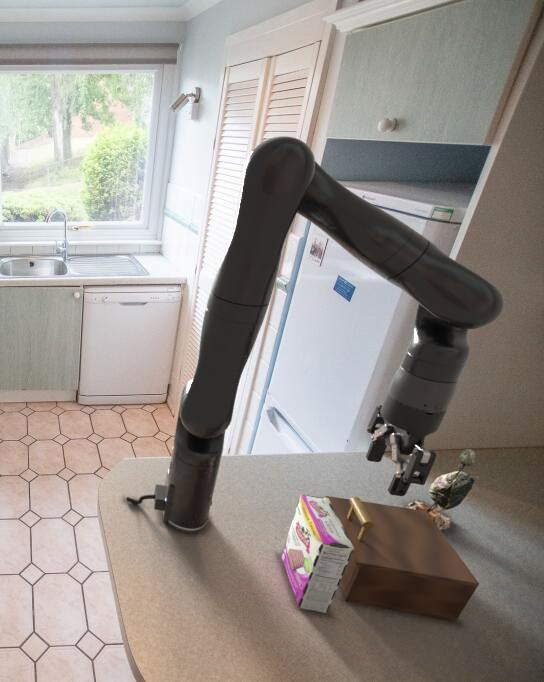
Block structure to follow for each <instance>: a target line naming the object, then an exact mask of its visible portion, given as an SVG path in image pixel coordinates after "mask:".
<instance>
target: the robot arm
mask: <svg viewBox="0 0 544 682" xmlns="http://www.w3.org/2000/svg"><path fill="white" fill-rule="evenodd" d="M241 178H242V181H241V190H240V197H239V201H238V208H237V212H236V213H237V214H236V219H235V223H234V228H233V231H232V235H231V237H230V240H229V243H228V245H227V247H226V249H225V251H224V254H223V256H222V258H221V260H220V264H219V265H218V267H217V270H216V272H215V276H214V278H213V281H212V284H211V287H210V290H209V295H208V299H207V301H206V306H205V310H204V314H203V320H202V326H201V333H200V342H199V351H198V360H197V365H196V369H195V372H194V375H193V377H192V378H191V379H189V380H188V381H187V382H186V383H185V385H184V386H183V388H182V391H181V395H180V401H179V406H178V414H177V419H176V425H175V432H174V438H173V445H172V451H171V457H170V463H169V468H168V469H167V470H166V476H165V483H164V484H155V487H154V493H153V494H144V495H141V496H140V497H139V498H138V499H134V498H132V497H128V496H127V497H126V502H128V503H131V504H134V505H140V504H142V503H143V501H144V500H153V502H154V503H153V507H154V510H156V511H161V514H162V523H164V524H168V525H169V526H171V527H172V528H174V529H176V530H177V531H181V532H184V533H198V532H201V531H203V530H205V528H206V527H207V525H208V522H209V516H210V515H209V514H210V510H211V506H212V504H213V497H214V492H215V488H216V483H217V478H218V474H219V469H220V466H221V461H222V456H223V453H224V444H225V438H226V437H225V436H226V430H227V429H228V428H229V426H230V425H231V423H232V420H233V416H234V409H235V404H236V400H237V399H236V398H237V393H238V389H239V385H240V381H241V378H242V374H243V372H244V369H245V367H246V366H247V363H248V360H249V358H250V355H251V353H252V351H253V349H254V346H255V343H256V341H257V339H258V336H259V333H260V331H261V328H262V325H263V323H264V320H265V317H266V314H267V311H268V309H269V305H270V303H271V300H272V299H271V298H272V295H273V292H274V288H275V284H276V281H277V277H278V273H279V269H280V265H281V259H282V254H283V249H284V246H285V243H286V240H287V237H288V235H289V231H290V229H291V227H292V225H293V223H294V219H295V218H296V215H297V214H298V215H300V216H301V217H303V218H304V219H306V220H307V221H309V222H311V224H313V225H315V226H316V227H317V228H319V229H320V230H322V232H324V233H325V234H326V235H328V237H330V238H331V240H333V241H334V242H336V243H337V245H339V246H340V247H341V248H342V249H344V251H346V252H347V253H348V254H350V255H351V257H354V258H355V260H357V261H359V263H361V264H362V265H364V266H365V267H366V268H368V269H370V270H371V271H372V272H374V273H375V274H377V275H378V276H380V277H381V278H382V279H383V280H385V281H387V282H389V283H390V284H392V285H394V286H395V287H396V288H399V289H400V290H402V291H403V292H404V293H406V294H407V295H408V296H409V297H410V298H411V299H413V300H414V301H415V302H417V307H416V311H415V316H414V322H413V328H412V336H411V339H410V342H409V344H408V346H407V347H406V350H405V353H404V355H403V358H402V361H401V363H400V365H399V367H398V369H397V371H395V373H394V375H393V378H392V380H391V383H390V385H389V387H388V390H387V393H386V395H385V397H384V400H383V402H382V404H377V405H376V407H375V409H374V411H373V413H372V416H371V418H370V420H369V423H368V425H367V427H366V431H367V433H369V434H370V436H369V441H370V444H369V447H368V449H367V452H366V455H365V459H366V460H367V461H368V462H374V463H380V462H381V461H382V460H383V457H384V455H385V453H386V450H387V448H388V447H389V448H390V451H391V461H392V462H393V463H395V473H394V475H393V477H392V479H391V481H390V484H389V486H388V488H387V491H388V493H389V495H390V496H396V497H405V496H406V495H407V493H408V490H409V488H410V487H411V485H412V484H415V485H420V486H424V485H426V482H427V480H428V477H429V475H430V473H431V470H432V468H433V465H434V463H435V460H436V459H437V453H436V452H435V451H433V450H427V449H426V447H425V440H426V439H425V438H426V437H427V436H429V435H431V434H434V433H436V432H437V431H438V430H439V428H440V427H441V424H442V423H443V420H444V417H445V415H446V413H447V411H448V409H449V407H450V406H451V402H452V400H453V398H454V396H455V394H456V391H457V387H458V383H459V381H460V379H461V376H462V375H463V372H464V370H465V368H466V366H467V363H468V361H469V358H470V356H471V350H472V349H471V344H470V343H469V339H468V333H469V330H475V329H480V328H484V327H487V326H489V325H491V324H493V323H494V322H496V321H497V320H498V319H499V318H500V316H501V315H502V314H503V312H504V309H505V297H504V295H503V293H502V291H501V290H500V289H499V287H498V286H497V285H495V284H494V283H492V282H491V281H489V280H488V279H486V278H485V277H483V276H481V275H480V274H478V273H476V272H474V271H472V269H470V268H468V267H466V266H464V265H463V264H462V263H460V262H458V261H456V260H454V259H453V258H451V257H450V256H449V255H447V254H446V253H445V252H444V251H442V250H441V248H439V247H438V246H437V245H435V243H433V242H432V241H431V240H429V238H428V239H427V238H426V237H425V236H423V235H422V234H420V232H418V231H416V230H414V229H413V228H412V227H411V226H408V224H406V223H404V222H403V221H401V220H400V219H398V218H396V217H395V216H393V215H391V214H390V213H388V212H386V211H385V210H383V209H381V208H379V207H378V206H376V205H374V204H373V203H371V202H370V201H367V200H366V199H364V198H362V197H361V196H359V195H357V194H356V193H354V192H353V191H352V190H350V189H348V188H347V187H345V186H344V185H343V184H341V182H339V181H338V180H336V179H335V178H334V177H332V176H331V175H330V174H329V173H328V172H327V171H326V170H325V169H324V168H323V167H322V166H321V164H319V163H318V162H317V161H316V159H315V155H314V153H313V150H312V149H311V148H310V147H309V145H308V144H307V143H306V142H304V141H303V140H301V139H299V138H296V137H294V136H285V135H284V136H282V135H281V136H274V137H272V138H268V139H266V140H264V141H262V142H261V143H259V144H258V145H257V146H255V147H254V148H253V149H252V151H250V153H249V154H248V156H247V157H246V160H245V161H244V165H243V168H242V177H241ZM377 425H380V427H379V426H377ZM401 455H402V456H409V457H410V458H404V457H402V456H401ZM404 464H406V468H405V470H404Z"/></svg>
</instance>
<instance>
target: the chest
mask: <svg viewBox="0 0 544 682" xmlns="http://www.w3.org/2000/svg"><path fill="white" fill-rule="evenodd" d="M338 588H339V589H340V591H341V594H342V596H343V598H344V602H348V603H354V604H359V605H364V606H369V607H375V608H379V609H385V610H390V611H394V612H401V613H405V614H410V615H415V616H420V617H426V618H430V619H437V620H441V621H446V622H452V623H456V622H457V620H458V619H459V617H460V615H461V614H462V613H463V611H464V609H465V607H466V606H467V604H468V603H469V601H470V599H471V598H472V596H473V595H474V594H475V592H476V590H477V588H478V587H475V586H469V585H464V584H458V583H453V582H447V581H441V580H436V579H430V578H424V577H419V576H413V575H408V574H402V573H396V572H391V571H385V570H380V569H374V568H368V567H363V566H357V565H355V562H354V560H353V558H352V556H351V557H350V559H349V561H348V564H347V566H346V569H345V571H344V574H343V576H342V578H341V581H340V583H339V586H338Z"/></svg>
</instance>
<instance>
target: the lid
mask: <svg viewBox="0 0 544 682" xmlns="http://www.w3.org/2000/svg"><path fill="white" fill-rule="evenodd" d="M323 498H329V500H330V502H331V504H332V506H333V508H334V510H335V512H336V514H337V516H338V518H339V520H340V522H341V524H342V525H343V527H344V529H345V531H346V533H347V535H348V537H349V539H350V541H351V543H352V545H353V547H354V550H353V552H352V554H351V556H352V558H353V560H354V562H355V565H357V566H363V567H368V568H374V569H380V570H385V571H391V572H396V573H402V574H408V575H413V576H419V577H424V578H430V579H436V580H441V581H447V582H453V583H458V584H464V585H469V586H475V587H477V588H478V587H479V585H480V583H479V581H478V579H477V578H476V577H475V576H474V574H473V573H472V572H471V570H470V569H469V568H468V566H467V565H466V563H465V562H464V561H463V559H462V558H461V556H460V555H459V554H458V552H457V551H456V550H455V548H454V547H453V546H452V544H451V543H450V542H449V540H448V539H447V537H446V536H445V535H444V534H443V532H442V530H440V529H439V528H438V527H437V525H436V524H435V522H434V521H433V520H432V518H431V517H430V516H429V514H428V513H427V512H426V511H423V510H416V509H410V508H406V507H404V506H403V507H402V506H395V505H391V504H390V505H389V504H383V503H377V502H371V501H370V502H369V501H363V500H361V498H359V497H357V496H352V497H350V498H344V497H337V496H331V495H330V496H329V495H324V497H323Z"/></svg>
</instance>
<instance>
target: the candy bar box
mask: <svg viewBox="0 0 544 682" xmlns="http://www.w3.org/2000/svg"><path fill="white" fill-rule="evenodd" d="M353 550H354V547H353V545H352V543H351V541H350V539H349V537H348V535H347V533H346V531H345V529H344V527H343V525H342V524H341V522H340V520H339V518H338V516H337V514H336V512H335V510H334V508H333V506H332V504H331V502H330V500H329V498H324V497H322V496H316V495H309V494H300V495H299V499H298V501H297V504H296V508H295V511H294V515H293V517H292V521H291V525H290V528H289V530H288V533H287V536H286V540H285V543H284V546H283V549H282V552H281V555H280V558H281V561H282V564H283V568H284V570H285V572H286V573H285V574H286V576H287V579H288V581H289V584H290V588H291V591H292V593H293V596H294V599H295V601H296V605H297V608H298V609H301V610H304V611H312V612H316V613H321V614H328V612H329V610H330V607H331V605H332V602H333V600H334V597H335V595H336V592H337V590H338V588H339V583H340V581H341V578H342V576H343V574H344V571H345V569H346V566H347V564H348V561H349V559H350V557H351V554H352V552H353Z"/></svg>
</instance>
